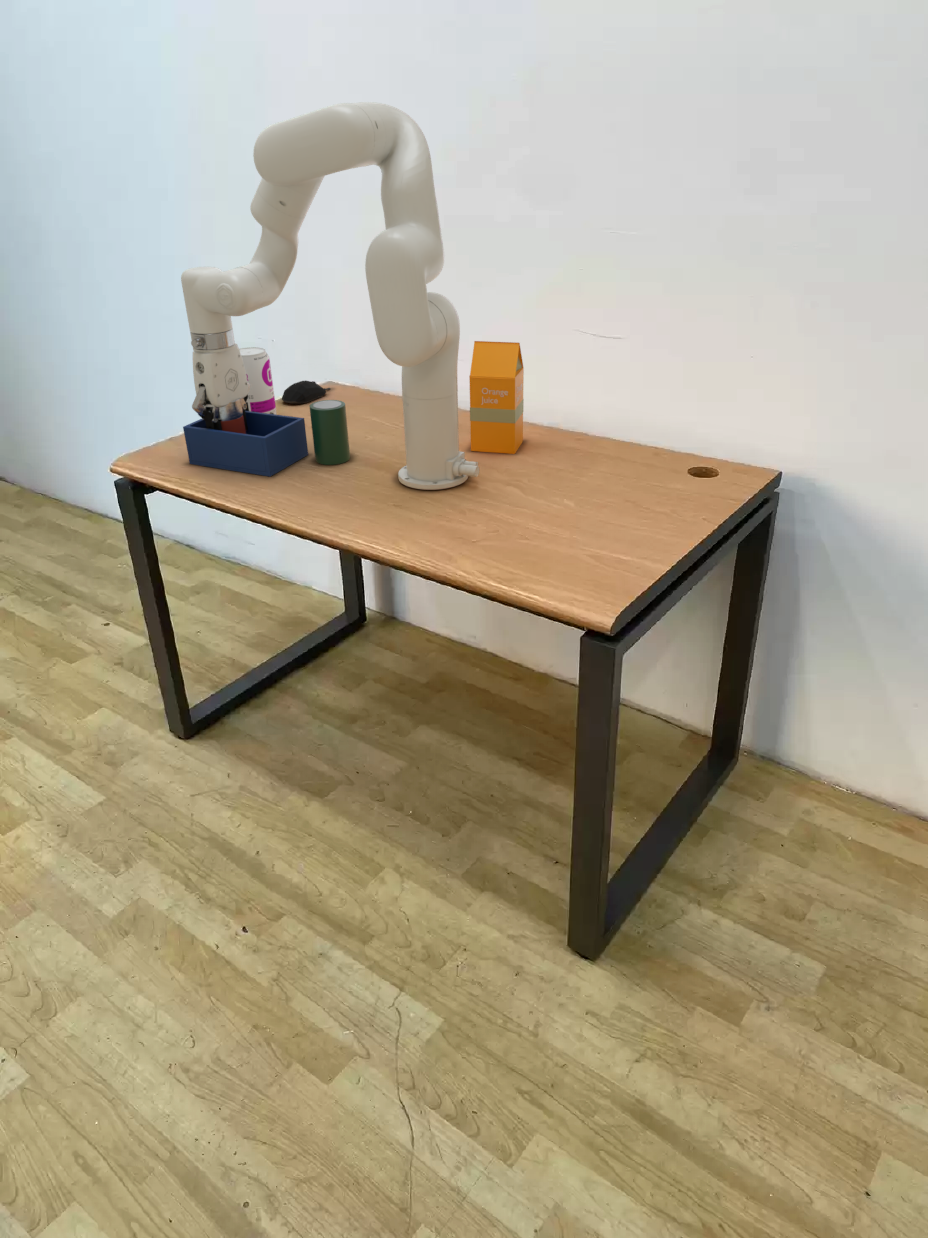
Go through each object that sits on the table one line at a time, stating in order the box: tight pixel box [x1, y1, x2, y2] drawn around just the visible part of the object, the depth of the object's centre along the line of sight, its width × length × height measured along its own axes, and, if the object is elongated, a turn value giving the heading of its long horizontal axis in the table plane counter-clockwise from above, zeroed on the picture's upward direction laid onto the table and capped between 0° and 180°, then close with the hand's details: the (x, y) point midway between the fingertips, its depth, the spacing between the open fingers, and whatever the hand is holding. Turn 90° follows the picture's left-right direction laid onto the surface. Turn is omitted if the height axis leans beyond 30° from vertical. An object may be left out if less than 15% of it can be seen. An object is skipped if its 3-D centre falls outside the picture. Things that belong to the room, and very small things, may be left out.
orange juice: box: [469, 340, 525, 455], centre depth 171 cm, size 8×9×20 cm
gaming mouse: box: [281, 380, 331, 405], centre depth 208 cm, size 6×15×4 cm, turn 146°
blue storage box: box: [182, 411, 309, 478], centre depth 171 cm, size 19×13×7 cm
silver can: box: [208, 398, 246, 434], centre depth 171 cm, size 7×7×11 cm
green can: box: [309, 399, 351, 466], centre depth 169 cm, size 7×7×11 cm
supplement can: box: [239, 346, 278, 415], centre depth 190 cm, size 8×8×15 cm
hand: (228, 434), depth 172 cm, fingers closed on silver can, 6 cm apart
